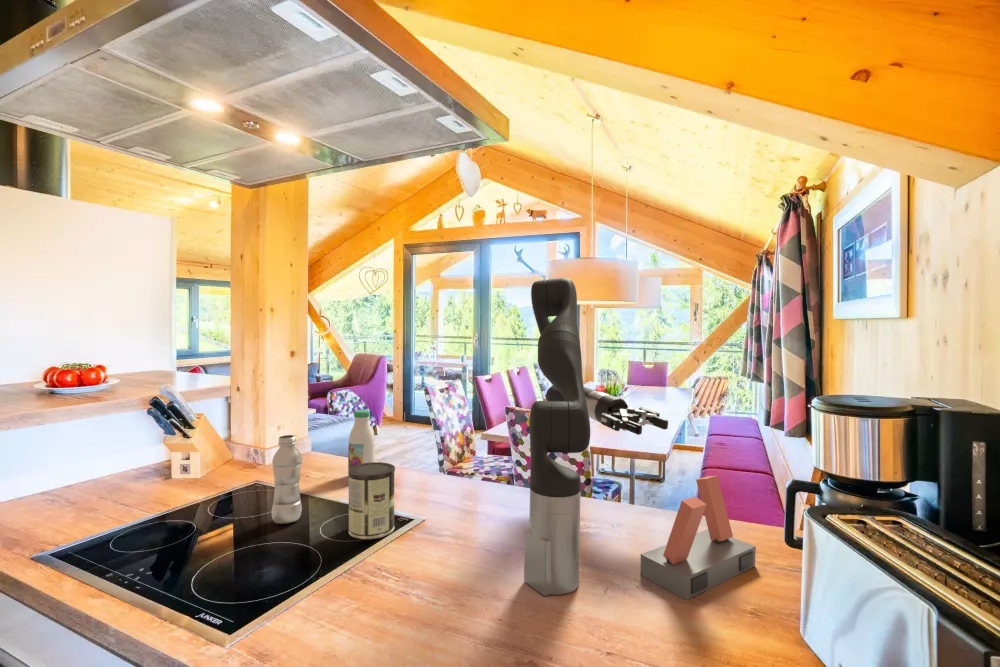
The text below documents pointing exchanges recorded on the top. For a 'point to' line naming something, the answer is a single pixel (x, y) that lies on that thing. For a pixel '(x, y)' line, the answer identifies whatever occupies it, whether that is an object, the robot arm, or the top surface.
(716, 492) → the block
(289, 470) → the plastic bottle
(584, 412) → the robot arm
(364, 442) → the milk bottle
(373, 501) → the coffee can
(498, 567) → the top surface
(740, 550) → the grey switch base
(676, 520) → the rocker near
